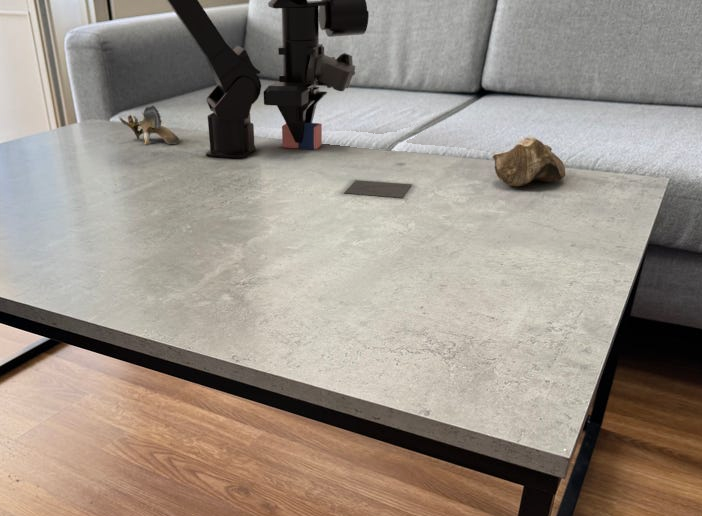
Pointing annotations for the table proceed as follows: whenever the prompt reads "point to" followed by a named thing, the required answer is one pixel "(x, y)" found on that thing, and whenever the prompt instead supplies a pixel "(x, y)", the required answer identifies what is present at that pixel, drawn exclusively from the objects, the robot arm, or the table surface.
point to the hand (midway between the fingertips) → (302, 140)
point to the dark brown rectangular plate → (378, 189)
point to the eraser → (304, 137)
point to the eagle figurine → (150, 126)
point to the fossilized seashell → (528, 163)
